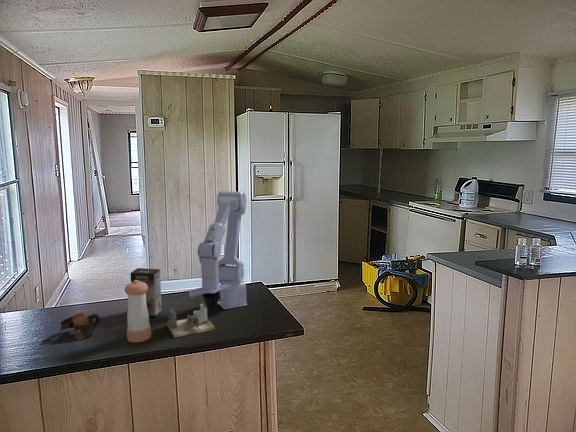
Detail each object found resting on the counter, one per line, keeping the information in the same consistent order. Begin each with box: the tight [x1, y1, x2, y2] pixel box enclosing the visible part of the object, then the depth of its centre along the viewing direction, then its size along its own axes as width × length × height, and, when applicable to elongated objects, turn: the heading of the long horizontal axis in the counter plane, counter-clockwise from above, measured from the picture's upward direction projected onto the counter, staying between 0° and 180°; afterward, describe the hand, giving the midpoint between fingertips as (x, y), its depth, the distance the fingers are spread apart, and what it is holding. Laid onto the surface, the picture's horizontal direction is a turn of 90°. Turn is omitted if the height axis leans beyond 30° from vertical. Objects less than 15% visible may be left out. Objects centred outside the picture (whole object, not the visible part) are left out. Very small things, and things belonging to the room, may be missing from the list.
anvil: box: [167, 307, 178, 329], centre depth 147 cm, size 2×6×5 cm, turn 27°
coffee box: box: [130, 267, 162, 317], centre depth 161 cm, size 9×6×16 cm
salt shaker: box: [124, 280, 152, 343], centre depth 139 cm, size 7×7×19 cm
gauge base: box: [166, 317, 216, 339], centre depth 148 cm, size 14×11×2 cm
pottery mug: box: [60, 312, 102, 342], centre depth 144 cm, size 12×10×8 cm
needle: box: [193, 318, 199, 325], centre depth 146 cm, size 1×4×2 cm, turn 27°
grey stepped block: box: [186, 303, 208, 323], centre depth 150 cm, size 6×7×5 cm
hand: (211, 313), depth 153 cm, fingers closed
